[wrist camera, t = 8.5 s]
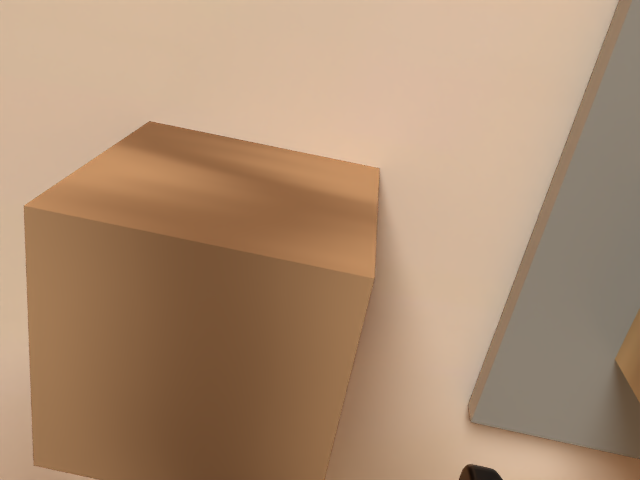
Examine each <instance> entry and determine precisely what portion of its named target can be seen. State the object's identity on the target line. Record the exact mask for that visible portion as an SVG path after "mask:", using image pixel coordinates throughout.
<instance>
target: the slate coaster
mask: <svg viewBox="0 0 640 480" xmlns="http://www.w3.org/2000/svg"><path fill="white" fill-rule="evenodd" d="M639 309H640V0H619V3H618V6H617V8H616V11H615V14H614V16H613V19H612V22H611V25H610V27H609V30H608V33H607V35H606V38H605V41H604V43H603V46H602V49H601V51H600V54H599V57H598V59H597V62H596V65H595V67H594V70H593V73H592V75H591V78H590V81H589V83H588V86H587V89H586V91H585V94H584V97H583V99H582V102H581V105H580V107H579V110H578V113H577V115H576V118H575V121H574V123H573V126H572V129H571V131H570V134H569V137H568V139H567V142H566V145H565V147H564V150H563V153H562V155H561V158H560V161H559V163H558V166H557V169H556V171H555V174H554V177H553V179H552V182H551V185H550V187H549V190H548V193H547V196H546V198H545V201H544V204H543V206H542V209H541V212H540V214H539V217H538V220H537V222H536V225H535V228H534V230H533V233H532V236H531V238H530V241H529V244H528V246H527V249H526V252H525V254H524V257H523V260H522V262H521V265H520V268H519V270H518V273H517V276H516V278H515V281H514V284H513V286H512V289H511V292H510V294H509V297H508V300H507V302H506V305H505V308H504V310H503V313H502V316H501V318H500V321H499V324H498V326H497V329H496V332H495V334H494V337H493V340H492V342H491V345H490V348H489V350H488V353H487V356H486V358H485V361H484V364H483V366H482V369H481V372H480V375H479V377H478V380H477V383H476V385H475V388H474V391H473V393H472V396H471V399H470V401H469V404H468V409H469V415H470V420H471V422H473V423H477V424H482V425H486V426H491V427H496V428H500V429H505V430H509V431H514V432H518V433H523V434H528V435H532V436H537V437H541V438H546V439H550V440H555V441H560V442H564V443H569V444H573V445H578V446H582V447H587V448H592V449H596V450H601V451H605V452H610V453H614V454H619V455H624V456H628V457H633V458H637V459H640V402H639V401H638V399H637V397H636V395H635V394H634V392H633V390H632V388H631V387H630V385H629V383H628V381H627V380H626V378H625V376H624V374H623V372H622V371H621V369H620V367H619V365H618V364H617V362H616V360H615V358H616V356H617V354H618V352H619V350H620V348H621V345H622V343H623V341H624V339H625V337H626V335H627V333H628V331H629V329H630V327H631V325H632V323H633V321H634V319H635V317H636V315H637V313H638V311H639Z"/></svg>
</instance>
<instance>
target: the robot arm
mask: <svg viewBox="0 0 640 480" xmlns="http://www.w3.org/2000/svg"><path fill="white" fill-rule="evenodd" d="M459 480H503V479H502V478H501V477H500V475H499V474H498V473H497V472H496V471H495V470H493V469H491V468H487V467H482V466H477V465H473V464H469V465H466V466H465V467H464V469H463V470H462V472H461V475H460V478H459Z"/></svg>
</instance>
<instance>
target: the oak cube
mask: <svg viewBox="0 0 640 480" xmlns="http://www.w3.org/2000/svg"><path fill="white" fill-rule="evenodd" d="M615 360H616V362H617V364H618V365H619V367H620V369H621V371H622V372H623V374H624V376H625V378H626V380H627V381H628V383H629V385H630V387H631V388H632V390H633V392H634V394H635V395H636V397H637V399H638V401H639V402H640V309H639V311H638V313H637V315H636V317H635V319H634V321H633V323H632V325H631V327H630V329H629V331H628V333H627V335H626V337H625V339H624V341H623V343H622V345H621V348H620V350H619V352H618V354H617V356H616V358H615Z"/></svg>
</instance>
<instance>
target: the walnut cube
mask: <svg viewBox="0 0 640 480" xmlns="http://www.w3.org/2000/svg"><path fill="white" fill-rule="evenodd" d="M378 190H379V168H375V167H370V166H365V165H360V164H356V163H351V162H346V161H341V160H336V159H331V158H326V157H321V156H317V155H312V154H307V153H302V152H297V151H292V150H287V149H282V148H278V147H273V146H268V145H263V144H258V143H253V142H248V141H243V140H239V139H234V138H229V137H224V136H219V135H214V134H209V133H204V132H199V131H195V130H190V129H185V128H180V127H175V126H170V125H165V124H160V123H156V122H151V121H149V122H148V123H146V124H145V125H143V126H142V127H140V128H139V129H137V130H136V131H134V132H133V133H132V134H130V135H129V136H127V137H126V138H124V139H123V140H121V141H120V142H118V143H117V144H115V145H114V146H112V147H111V148H109V149H108V150H106V151H105V152H103V153H102V154H100V155H99V156H97V157H96V158H94V159H93V160H91V161H90V162H88V163H87V164H85V165H84V166H82V167H81V168H79V169H78V170H76V171H75V172H73V173H72V174H70V175H69V176H67V177H66V178H64V179H63V180H61V181H60V182H59V183H57V184H56V185H54V186H53V187H51V188H50V189H48V190H47V191H45V192H44V193H42V194H41V195H39V196H38V197H36V198H35V199H33V200H32V201H30V202H29V203H27V204H26V205H24V223H25V250H26V276H27V302H28V329H29V355H30V381H31V408H32V434H33V460H34V466H39V467H43V468H48V469H52V470H57V471H62V472H66V473H71V474H76V475H80V476H85V477H90V478H94V479H99V480H324V479H325V475H326V471H327V467H328V463H329V459H330V455H331V451H332V447H333V443H334V439H335V435H336V431H337V427H338V423H339V419H340V415H341V411H342V407H343V403H344V399H345V395H346V391H347V387H348V383H349V379H350V375H351V371H352V367H353V363H354V359H355V355H356V351H357V347H358V343H359V339H360V335H361V331H362V327H363V323H364V319H365V315H366V311H367V307H368V303H369V299H370V295H371V291H372V287H373V283H374V279H375V257H376V235H377V212H378Z"/></svg>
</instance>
